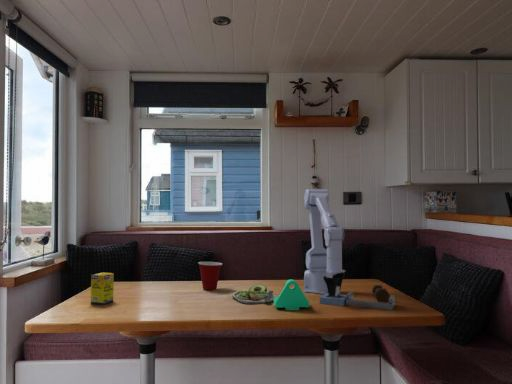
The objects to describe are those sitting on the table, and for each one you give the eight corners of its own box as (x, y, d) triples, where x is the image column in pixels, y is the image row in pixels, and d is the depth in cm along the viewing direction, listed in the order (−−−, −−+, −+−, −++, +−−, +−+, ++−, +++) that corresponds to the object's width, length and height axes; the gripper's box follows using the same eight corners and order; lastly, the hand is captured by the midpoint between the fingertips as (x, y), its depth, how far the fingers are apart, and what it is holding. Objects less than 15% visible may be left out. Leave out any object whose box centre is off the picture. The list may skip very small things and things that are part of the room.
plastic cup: (227, 290, 169) (227, 262, 170) (204, 293, 163) (205, 264, 164) (215, 285, 178) (215, 259, 179) (193, 288, 172) (193, 261, 173)
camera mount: (305, 304, 145) (305, 277, 145) (309, 310, 137) (309, 280, 138) (273, 305, 144) (273, 277, 145) (275, 310, 137) (275, 281, 137)
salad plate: (287, 304, 146) (287, 292, 146) (242, 308, 140) (242, 295, 141) (269, 293, 164) (269, 282, 165) (229, 296, 159) (229, 285, 159)
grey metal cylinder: (329, 302, 147) (329, 286, 147) (331, 300, 150) (331, 285, 150) (338, 303, 146) (338, 287, 146) (340, 301, 149) (340, 285, 149)
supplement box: (103, 305, 144) (103, 275, 144) (90, 304, 145) (90, 274, 146) (113, 301, 149) (114, 272, 150) (100, 300, 151) (101, 272, 151)
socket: (319, 303, 146) (319, 297, 146) (326, 298, 154) (326, 292, 154) (343, 306, 142) (343, 300, 142) (349, 300, 150) (349, 294, 150)
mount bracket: (345, 304, 144) (345, 295, 144) (350, 300, 151) (350, 291, 151) (392, 310, 136) (392, 300, 137) (394, 304, 144) (394, 295, 144)
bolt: (378, 298, 163) (384, 305, 148) (367, 291, 164) (372, 298, 149) (385, 286, 163) (392, 292, 148) (374, 279, 164) (380, 285, 149)
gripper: (339, 261, 140) (340, 298, 140) (349, 256, 153) (349, 291, 153) (321, 259, 144) (321, 296, 143) (331, 255, 157) (331, 289, 156)
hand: (334, 293), depth 148 cm, fingers open, 7 cm apart
